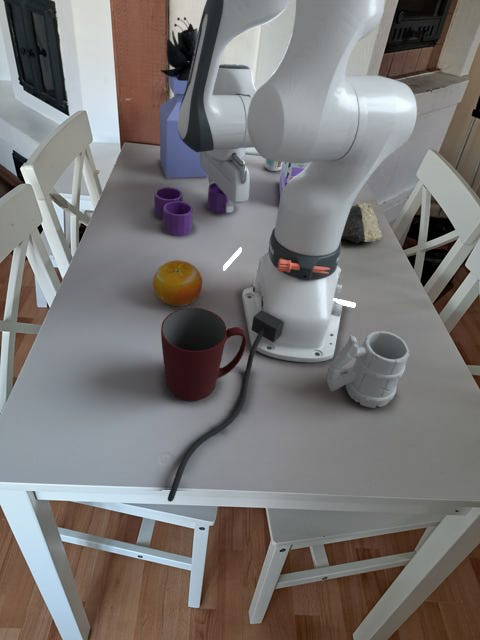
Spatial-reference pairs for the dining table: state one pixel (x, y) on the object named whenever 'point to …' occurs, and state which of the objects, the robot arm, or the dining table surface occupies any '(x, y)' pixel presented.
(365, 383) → the mug
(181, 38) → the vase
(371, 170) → the robot arm
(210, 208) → the purple short cylinder
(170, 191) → the purple cup
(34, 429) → the dining table surface
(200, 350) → the mug
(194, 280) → the fruit
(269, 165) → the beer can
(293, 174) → the candy box
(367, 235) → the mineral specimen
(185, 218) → the dish
